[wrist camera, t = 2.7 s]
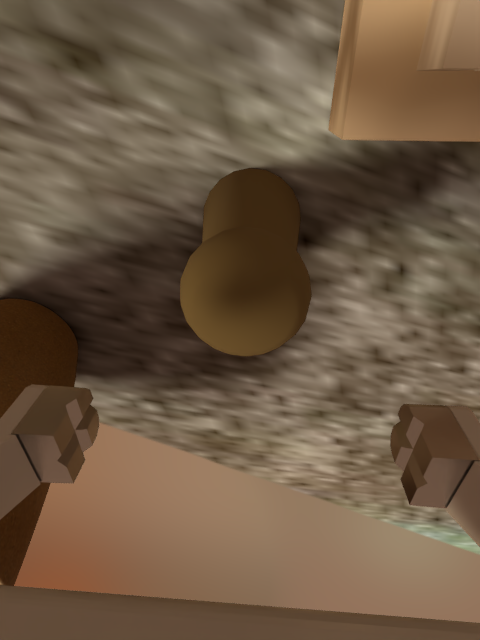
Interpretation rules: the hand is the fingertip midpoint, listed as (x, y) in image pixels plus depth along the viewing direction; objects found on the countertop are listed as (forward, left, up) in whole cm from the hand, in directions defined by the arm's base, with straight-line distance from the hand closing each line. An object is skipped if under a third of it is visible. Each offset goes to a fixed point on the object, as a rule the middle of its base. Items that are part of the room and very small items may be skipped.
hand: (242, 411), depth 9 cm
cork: (0, 0, -15) cm, 15 cm away
